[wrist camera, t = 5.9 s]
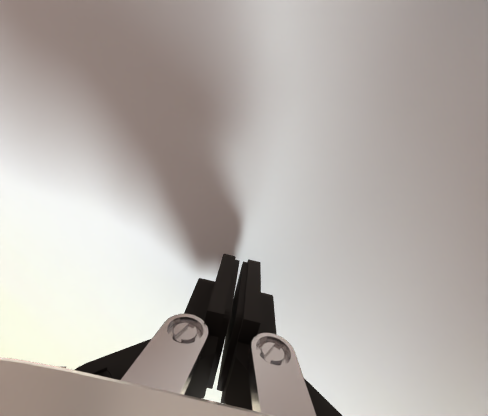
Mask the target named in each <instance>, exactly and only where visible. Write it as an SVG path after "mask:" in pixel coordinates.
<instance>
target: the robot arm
mask: <svg viewBox="0 0 488 416" xmlns="http://www.w3.org/2000/svg"><path fill="white" fill-rule="evenodd" d="M238 267H239V261H238V260H235V256H231V255H227V254H224V255H223V258H222V261H221V265H220V268H219V271H218V275H217V278H216V281H215V282H214V281H210V280H206V279H201V278H199V279H198V282H197V284H196V286H195V289H194V291H193V294H192V296H191V298H190V301H189V303H188V305H187V308H186V310H185V312H184V314H178V315H174V316H172V317H170V318H168V319H167V320H166V321H165V322H164V324H163V325H162V326H161V327H160V329H159V330H158V331H157V333H156V334H155V335H154V337H153V338H152V339H150V340H147V341H144V342H142V343H139V344H136V345H134V346H131V347H128V348H126V349H123V350H120V351H118V352H115V353H112V354H110V355H107V356H104V357H102V358H99V359H96V360H94V361H91V362H88V363H86V364H84V365H82V366H80V367H78V368H77V369H75V370H71V369H67V368H66V367H57V366H52V365H46V364H41V363H35V362H30V361H24V360H19V359H11V358H2V357H0V416H342V415H341V414H340V413H339V412H338V411H337V410H336V409H335V408H334V407H333V406H332V405H331V404H330V403H329V402H328V401H327V400H326V399H325V398H324V397H323V396H322V395H321V394H320V393H319V392H318V391H317V390H316V389H315V388H314V387H313V386H312V385H311V384H310V383H309V382H307V381H306V380H305V379H304V377H303V374H302V371H301V368H300V365H299V363H298V360H297V357H296V354H295V351H294V349H293V347H292V346H291V345H290V344H289V342H288V341H286V340H285V339H284V338H282V337H280V336H278V335H276V325H275V313H274V301H273V296H272V295H269V294H265V293H261V275H260V262H257V261H252V260H248V262H243V264H242V267H241V271H240V275H239V279H238V283H237V287H236V291H235V285H236V279H237V273H238ZM234 292H235V295H234ZM233 298H234V299H233ZM225 336H226V338H225ZM224 340H225V344H224ZM223 344H224V350H223V356H222V362H221V368H220V374H219V380H218V386H217V390H219V391H222V398H221V403H218V402H214V401H209V400H205V399H201V398H204V396H205V392H206V388H211V389H212V387H213V384H214V380H215V376H216V372H217V368H218V364H219V360H220V356H221V352H222V348H223ZM222 403H224V404H222Z"/></svg>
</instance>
